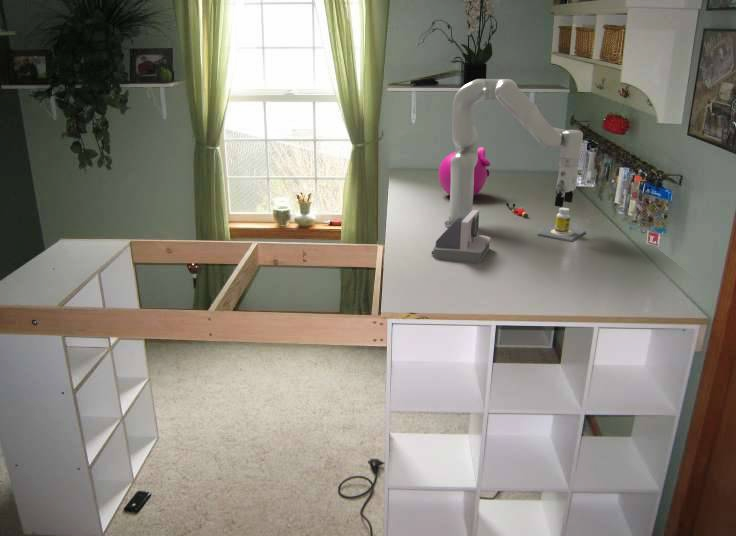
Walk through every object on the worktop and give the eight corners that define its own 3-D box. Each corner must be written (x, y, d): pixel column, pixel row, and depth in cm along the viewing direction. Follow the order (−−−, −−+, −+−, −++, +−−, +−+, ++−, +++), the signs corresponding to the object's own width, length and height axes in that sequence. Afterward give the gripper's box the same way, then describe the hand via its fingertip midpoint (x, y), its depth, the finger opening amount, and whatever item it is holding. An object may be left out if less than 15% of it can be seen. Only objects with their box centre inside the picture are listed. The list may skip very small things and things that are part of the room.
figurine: (496, 198, 326) (499, 148, 317) (459, 205, 313) (462, 152, 305) (464, 189, 344) (466, 141, 336) (428, 195, 331) (430, 145, 323)
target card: (571, 241, 259) (571, 239, 259) (537, 235, 267) (537, 233, 267) (585, 232, 271) (585, 230, 271) (553, 226, 279) (553, 224, 279)
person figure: (515, 199, 307) (530, 209, 291) (517, 207, 309) (532, 217, 292) (505, 203, 307) (519, 212, 290) (507, 210, 309) (521, 220, 292)
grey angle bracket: (476, 266, 232) (479, 225, 227) (423, 256, 242) (425, 217, 237) (497, 250, 249) (500, 212, 244) (447, 241, 259) (449, 204, 254)
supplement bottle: (566, 234, 265) (568, 211, 262) (552, 232, 268) (555, 209, 265) (570, 231, 270) (572, 208, 266) (557, 229, 272) (559, 206, 269)
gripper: (570, 166, 250) (564, 209, 256) (586, 160, 263) (580, 201, 269) (551, 163, 255) (545, 206, 260) (568, 157, 268) (562, 198, 274)
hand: (563, 204), depth 265 cm, fingers open, 9 cm apart
